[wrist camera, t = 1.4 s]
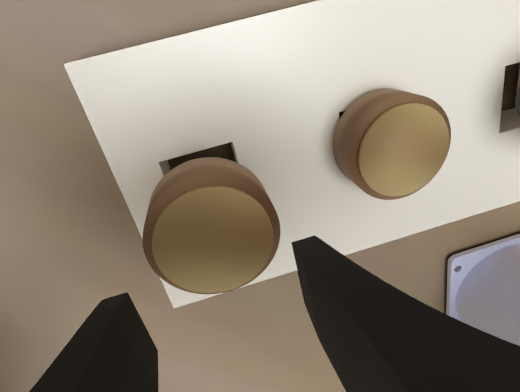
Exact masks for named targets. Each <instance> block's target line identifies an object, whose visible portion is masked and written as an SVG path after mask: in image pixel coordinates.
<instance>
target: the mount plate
mask: <svg viewBox="0 0 520 392" xmlns="http://www.w3.org/2000/svg"><path fill="white" fill-rule="evenodd" d="M518 62H520V0H318V1H314V2H310V3H306V4H302V5H298V6H294V7H290V8H286V9H282V10H278V11H274V12H270V13H266V14H262V15H258V16H254V17H250V18H246V19H242V20H238V21H234V22H230V23H226V24H222V25H218V26H214V27H210V28H206V29H202V30H198V31H194V32H190V33H186V34H182V35H178V36H174V37H170V38H166V39H162V40H158V41H154V42H150V43H146V44H142V45H138V46H134V47H130V48H126V49H122V50H118V51H114V52H110V53H106V54H102V55H98V56H94V57H90V58H86V59H82V60H78V61H74V62H70V63H66V64H64V66H65V68H66V71H67V73H68V75H69V77H70V79H71V82H72V84H73V86H74V88H75V91H76V93H77V95H78V97H79V99H80V102H81V104H82V106H83V108H84V110H85V113H86V115H87V117H88V119H89V122H90V124H91V126H92V128H93V130H94V133H95V135H96V137H97V139H98V141H99V144H100V146H101V148H102V150H103V153H104V155H105V157H106V159H107V161H108V164H109V166H110V168H111V170H112V172H113V175H114V177H115V179H116V181H117V184H118V186H119V188H120V190H121V192H122V195H123V197H124V199H125V201H126V203H127V206H128V208H129V210H130V212H131V215H132V217H133V219H134V221H135V223H136V226H137V228H138V230H139V232H140V234H141V237H142V236H143V228H144V224H145V219H146V215H147V211H148V206H149V202H150V198H151V195H152V193H153V191H154V189H155V187H156V186H157V184H158V182H159V181H160V180H161V179H162V178H163V177H164V176H165V175H166V174H167V173H168V172H169V171H170V170H171V168H170V165H169V162H168V159H172V158H176V157H179V156H183V155H186V154H190V153H194V152H197V151H201V150H204V149H208V148H212V147H215V146H219V145H222V144H226V143H231V147H232V150H233V154H234V158H235V161H236V162H237V163H239V164H241V165H243V166H244V167H246V168H248V169H249V170H250V171H251V172H252V173H254V174H255V176H256V177H257V178H258V179H259V180H260V182H261V183H262V185H263V187H264V189H265V191H266V192H267V194H268V196H269V198H270V200H271V202H272V204H273V206H274V208H275V210H276V212H277V215H278V218H279V222H280V241H279V245H278V249H277V251H276V254H275V256H274V258H273V259H272V261H271V263H270V264H269V265H268V267H267V268H266V269H265V270H264V271H263V272H262V273H261V274H260V275H259V276H258V277H257V278H255V279H254V280H253V281H251V282H249V283H248V284H246V285H244V286H242V287H245V286H248V285H251V284H254V283H257V282H261V281H264V280H267V279H270V278H274V277H277V276H280V275H283V274H286V273H290V272H293V271H296V270H297V266H296V261H295V257H294V252H293V248H292V243H291V242H295V241H298V240H301V239H304V238H308V237H311V236H314V235H315V236H317V237H318V238H320V239H321V240H323V241H324V242H326V243H327V244H328V245H330V246H331V247H333V248H334V249H335V250H337V251H338V252H340V253H341V254H343V255H348V254H351V253H354V252H357V251H360V250H364V249H367V248H370V247H373V246H377V245H380V244H383V243H386V242H389V241H393V240H396V239H399V238H402V237H406V236H409V235H412V234H415V233H418V232H422V231H425V230H428V229H431V228H434V227H438V226H441V225H444V224H447V223H451V222H454V221H457V220H460V219H463V218H467V217H470V216H473V215H476V214H480V213H483V212H486V211H489V210H492V209H496V208H499V207H502V206H505V205H509V204H512V203H515V202H518V201H520V115H519V114H518V113H517V111H516V108H511V109H508V110H504V111H501V108H502V97H503V86H504V75H505V66H508V65H511V64H515V63H518ZM519 87H520V64H519V73H518V82H517V91H518V89H519ZM383 88H391V89H397V90H401V91H406V92H410V93H414V94H418V95H422V96H426V97H428V98H430V99H432V100H434V101H435V102H437V103H438V104H439V105H440V106H441V107H442V108H443V110H444V111H445V113H446V115H447V117H448V120H449V123H450V128H451V142H450V147H449V151H448V154H447V157H446V159H445V161H444V163H443V165H442V167H441V169H440V170H439V171H438V173H437V174H436V175H435V177H434V178H433V179H432V180H431V181H430V182H429V183H428V184H427V185H425V186H424V187H423V188H422V189H420V190H419V191H417V192H415V193H413V194H411V195H409V196H407V197H404V198H400V199H394V200H383V199H378V198H374V197H372V196H370V195H368V194H367V193H365V192H364V191H363V190H361V189H360V188H359V187H358V186H357V185H356V184H354V183H353V182H352V181H351V180H350V179H349V178H348V177H346V176H345V175H344V174H343V173H342V172H341V170H340V169H339V167H338V166H337V164H336V161H335V158H334V154H333V138H334V133H335V129H336V126H337V124H338V122H339V120H340V117H339V112H342V111H345V110H346V109H347V108H348V107H349V106H350V105H351V104H352V103H353V102H354V101H355V100H357V99H358V98H360V97H361V96H363V95H364V94H366V93H368V92H371V91H374V90H377V89H383ZM516 94H517V92H516ZM142 239H143V237H142ZM160 279H161V281H162V283H163V285H164V288H165V290H166V292H167V294H168V296H169V299H170V301H171V303H172V305H173V308H177V307H180V306H183V305H187V304H190V303H193V302H196V301H200V300H203V299H206V298H209V297H212V296H216V295H219V294H222V293H219V294H196V293H190V292H187V291H183V290H181V289H178V288H176V287H174V286H172V285H170V284H168V283H167V282H166V281H164V280H163V279H162V278H161V277H160ZM240 288H241V287H240Z"/></svg>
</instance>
